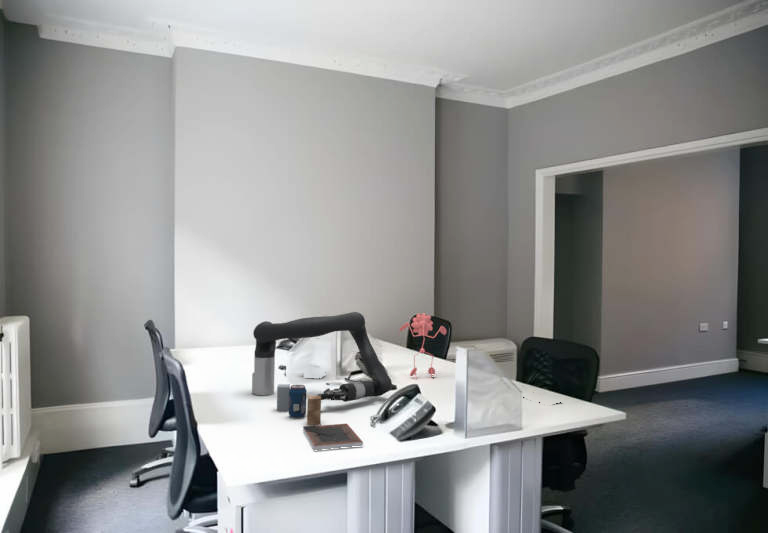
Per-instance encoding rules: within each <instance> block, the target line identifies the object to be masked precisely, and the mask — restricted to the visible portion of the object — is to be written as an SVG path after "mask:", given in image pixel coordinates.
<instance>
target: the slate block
mask: <svg viewBox="0 0 768 533" xmlns="http://www.w3.org/2000/svg"><path fill="white" fill-rule="evenodd" d="M290 388H291V384H290V383H289V384H282V383H281V384H280V383H279V384H277V387H276V390H277V391H276V412H277V411H279V412H289V390H290Z"/></svg>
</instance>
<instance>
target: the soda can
mask: <svg viewBox="0 0 768 533" xmlns="http://www.w3.org/2000/svg"><path fill="white" fill-rule="evenodd" d="M306 415H307V389H306V385H304V384H293V385H290V390H289V411H288V416H289V417H290V418H292V419H302V418H304V417H305V416H306ZM301 417H302V418H301Z"/></svg>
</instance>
